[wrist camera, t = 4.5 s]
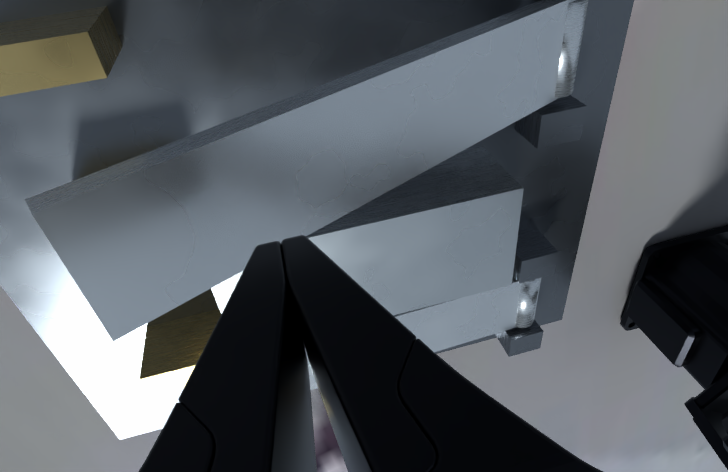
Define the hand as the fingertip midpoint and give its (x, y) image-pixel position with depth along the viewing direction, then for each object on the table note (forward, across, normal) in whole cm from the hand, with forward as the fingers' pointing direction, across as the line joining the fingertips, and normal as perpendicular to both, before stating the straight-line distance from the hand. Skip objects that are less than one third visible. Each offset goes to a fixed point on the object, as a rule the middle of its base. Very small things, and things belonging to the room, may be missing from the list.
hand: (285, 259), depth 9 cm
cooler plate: (+10, -2, +5) cm, 11 cm away
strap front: (+4, -3, 0) cm, 5 cm away
